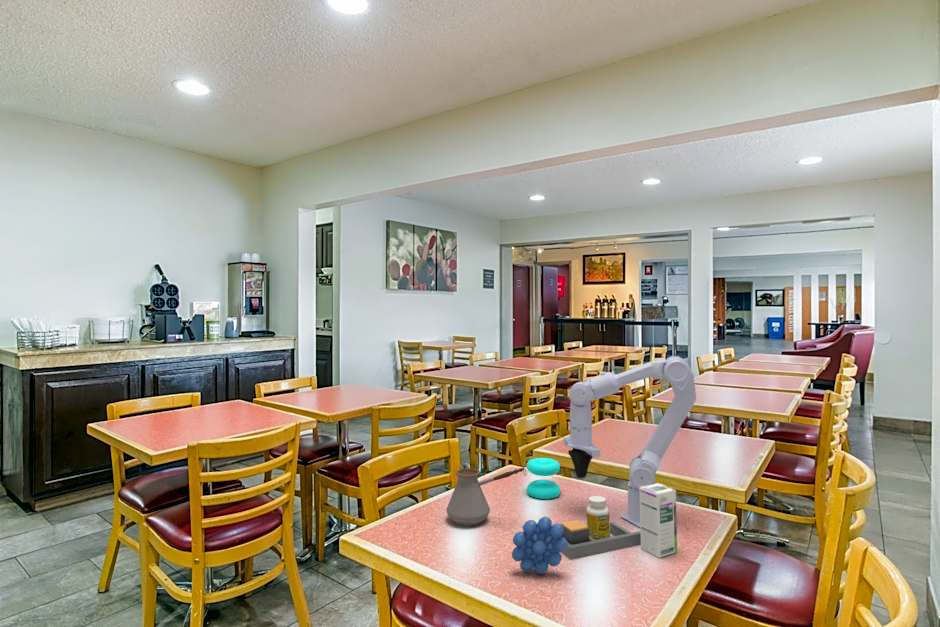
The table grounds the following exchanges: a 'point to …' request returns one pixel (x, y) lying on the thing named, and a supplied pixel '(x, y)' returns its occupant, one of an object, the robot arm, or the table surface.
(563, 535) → the grey tray with block
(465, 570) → the table surface
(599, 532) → the supplement bottle
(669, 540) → the syrup box
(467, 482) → the coffee pot
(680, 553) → the table surface
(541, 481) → the donuts
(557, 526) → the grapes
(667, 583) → the table surface
